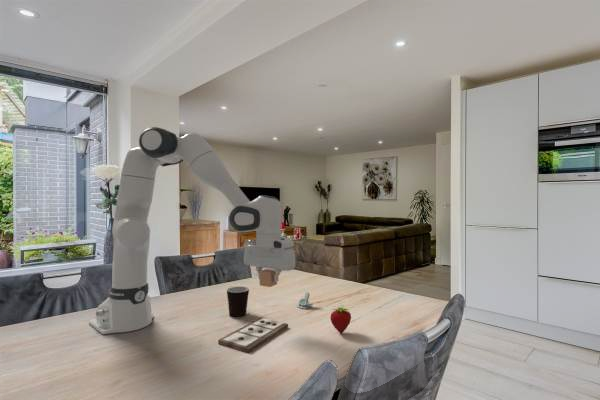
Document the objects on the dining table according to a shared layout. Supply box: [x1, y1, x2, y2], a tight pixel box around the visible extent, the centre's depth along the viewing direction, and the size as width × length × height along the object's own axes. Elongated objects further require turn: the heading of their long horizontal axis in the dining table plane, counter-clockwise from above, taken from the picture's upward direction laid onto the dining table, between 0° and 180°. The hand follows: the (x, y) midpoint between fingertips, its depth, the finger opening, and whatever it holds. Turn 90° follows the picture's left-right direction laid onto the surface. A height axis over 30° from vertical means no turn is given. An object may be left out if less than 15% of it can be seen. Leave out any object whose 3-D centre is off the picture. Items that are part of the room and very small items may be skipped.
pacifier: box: [296, 291, 314, 310], centre depth 133 cm, size 7×6×6 cm
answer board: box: [218, 317, 289, 354], centre depth 105 cm, size 12×22×2 cm, turn 151°
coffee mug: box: [226, 285, 250, 319], centre depth 125 cm, size 12×9×10 cm
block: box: [259, 268, 278, 288], centre depth 111 cm, size 4×4×5 cm
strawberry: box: [329, 302, 352, 334], centre depth 107 cm, size 6×8×10 cm
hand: (268, 280), depth 111 cm, fingers closed on block, 4 cm apart
